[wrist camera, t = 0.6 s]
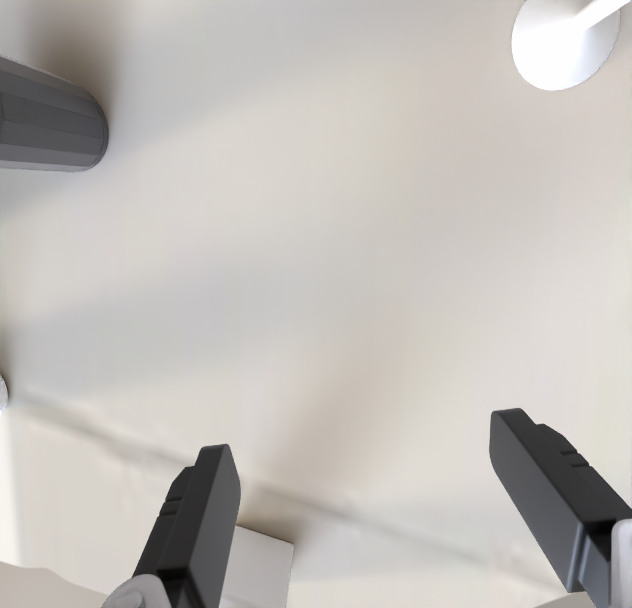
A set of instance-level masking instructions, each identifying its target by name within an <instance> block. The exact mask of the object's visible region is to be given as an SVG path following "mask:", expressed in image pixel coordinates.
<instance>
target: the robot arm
mask: <svg viewBox="0 0 632 608" xmlns="http://www.w3.org/2000/svg"><path fill="white" fill-rule="evenodd" d="M489 453H490V459H491V463H492V466H493V468H494V470H495V472H496V474H497V476H498V478H499V479H500V481H501V483H502V484H503V486H504V487H505V489H506V491H507V492H508V494H509V496H510V497H511V499H512V501H513V502H514V504H515V506H516V507H517V509H518V511H519V512H520V514H521V516H522V517H523V519H524V521H525V522H526V524H527V526H528V527H529V529H530V531H531V532H532V534H533V536H534V537H535V539H536V541H537V542H538V544H539V546H540V547H541V549H542V550H543V552H544V554H545V555H546V557H547V559H548V560H549V562H550V564H551V565H552V567H553V569H554V570H555V572H556V574H557V575H558V577H559V579H560V580H561V582H562V584H563V585H564V587H565V589H566V590H567V592H568V593H574V592H582V591H586V592H587V594H588V595H589V596H590V598H591V600H592V601H593V603H594V604H595V605H594V608H632V509H631V508H630V507H629V506H628V505H627V504H626V503H625V501H624V500H623V499H622V498H621V497H620V496H619V495H618V494H617V493H616V492H615V491H614V490H613V489H612V488H611V486H610V485H609V484H608V483H607V482H606V481H605V480H604V479H603V478H602V477H601V476H600V475H599V474H598V473H597V471H596V470H595V469H594V468H593V467H592V466H589V463H588V462H587V461H586V460H585V459H584V458H583V456H582V455H581V454H580V453H579V454H578V453H577V450H576V449H575V448H574V447H573V446H572V445H571V444H570V442H569V441H568V440H567V439H566V438H565V437H564V436H563V435H561V434H560V433H558V432H557V431H555V430H553V429H552V428H550V427H548V426H547V425H545V424H537V425H536V424H535V423H534V422H533V421H532V420H531V419H530V417H529V416H528V415H527V414H526V413H525V412H524V411H523V410H522V409H520V408H515V409H507V410H499V411H493V412H492V414H491V425H490V445H489ZM240 497H241V488H240V480H239V477H238V473H237V470H236V466H235V463H234V460H233V456H232V453H231V449H230V447H229V445H228V444H221V445H213V446H205V447H202V448H201V450H200V452H199V455H198V458H197V460H196V463H195V466H191V467H185V468H184V469H183V470H182V472H181V473H180V474H179V475H178V476H177V478H176V479H175V480H174V481H173V482H172V485H171V487H170V489H169V492H168V494H167V496H166V499H165V502H164V503H163V506H162V508H161V510H160V513H159V514H160V515H159V517H158V518H157V520H156V522H155V525H154V527H153V529H152V532H151V534H150V536H149V539H148V541H147V543H146V546H145V548H144V551H143V553H142V555H141V558H140V560H139V562H138V565H137V567H136V569H135V572H134V574H133V576H132V578H131V579H129V580H127V581H126V582H124V583H123V584H121V585H120V586H119V587H118V588H117V589H116V590H114V591H113V592H112V594H111V595H110V596H109V597H108V598H107V599H106V601H105V602H104V604H103V605H102V607H101V608H219V604H220V599H221V594H222V589H223V584H224V579H225V574H226V569H227V564H228V559H229V555H230V550H231V545H232V540H233V535H234V530H235V525H236V520H237V515H238V510H239V505H240Z"/></svg>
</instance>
